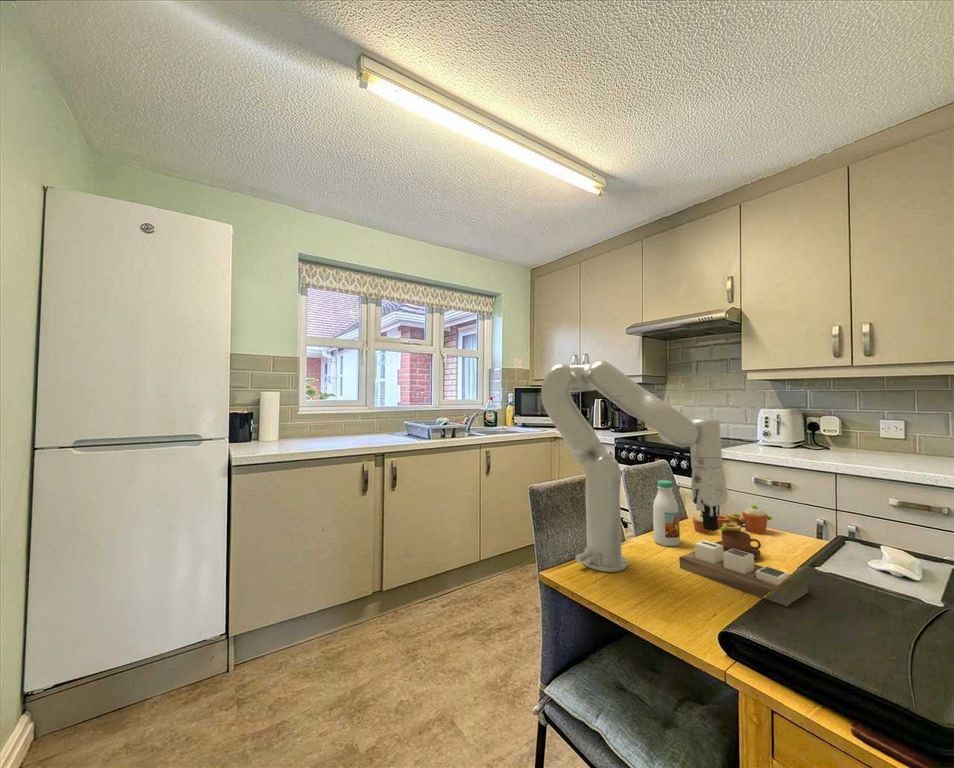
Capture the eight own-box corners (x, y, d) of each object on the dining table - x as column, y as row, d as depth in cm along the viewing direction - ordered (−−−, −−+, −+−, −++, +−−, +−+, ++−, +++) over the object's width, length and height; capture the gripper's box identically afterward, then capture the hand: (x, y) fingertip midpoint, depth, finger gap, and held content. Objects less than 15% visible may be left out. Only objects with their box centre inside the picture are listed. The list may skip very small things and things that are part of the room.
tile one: (713, 564, 106) (713, 548, 106) (695, 558, 110) (694, 542, 110) (723, 560, 108) (723, 544, 108) (705, 554, 112) (704, 539, 113)
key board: (786, 607, 89) (785, 593, 89) (679, 567, 110) (679, 556, 110) (808, 593, 95) (807, 580, 95) (703, 558, 116) (703, 548, 116)
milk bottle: (655, 545, 127) (653, 483, 128) (652, 537, 134) (650, 478, 135) (682, 548, 125) (680, 484, 125) (677, 539, 132) (675, 479, 133)
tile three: (780, 596, 93) (779, 577, 93) (756, 587, 97) (755, 569, 97) (789, 590, 95) (788, 572, 96) (765, 582, 100) (765, 565, 100)
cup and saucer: (746, 547, 125) (745, 528, 125) (770, 563, 113) (769, 541, 113) (706, 546, 126) (705, 527, 126) (726, 562, 114) (725, 540, 114)
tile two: (744, 574, 99) (744, 557, 99) (723, 567, 103) (723, 551, 104) (754, 570, 102) (753, 553, 102) (733, 563, 106) (732, 547, 106)
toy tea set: (734, 521, 152) (733, 495, 153) (777, 533, 138) (776, 505, 138) (684, 530, 143) (683, 503, 143) (725, 544, 128) (724, 514, 129)
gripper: (705, 467, 103) (710, 538, 102) (734, 461, 111) (739, 527, 110) (678, 464, 109) (682, 531, 109) (707, 458, 117) (711, 521, 116)
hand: (710, 529), depth 109 cm, fingers closed
